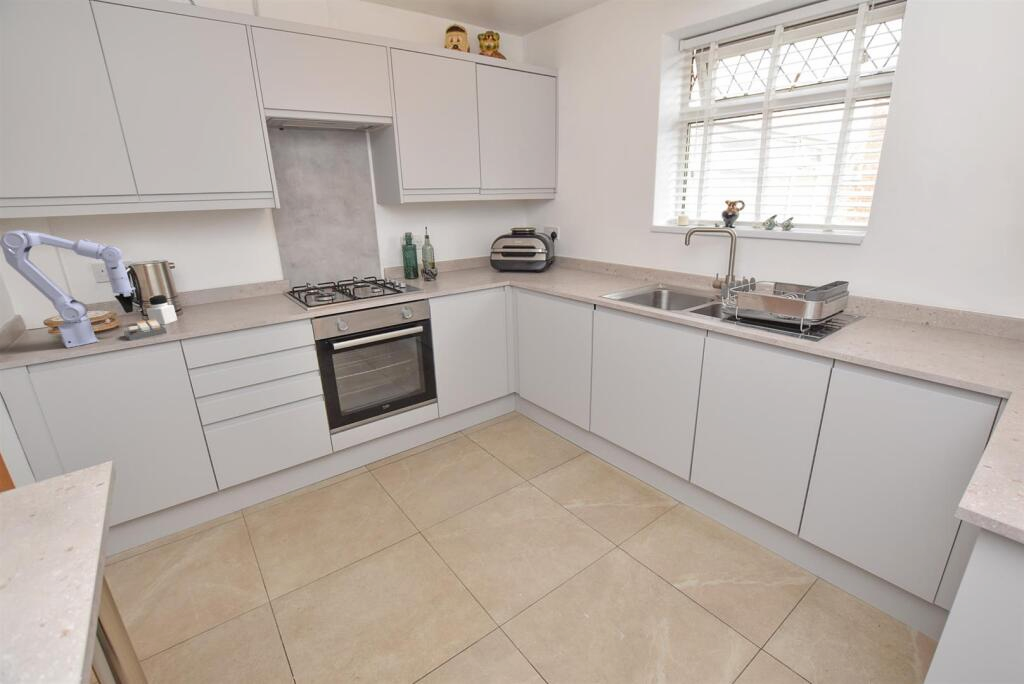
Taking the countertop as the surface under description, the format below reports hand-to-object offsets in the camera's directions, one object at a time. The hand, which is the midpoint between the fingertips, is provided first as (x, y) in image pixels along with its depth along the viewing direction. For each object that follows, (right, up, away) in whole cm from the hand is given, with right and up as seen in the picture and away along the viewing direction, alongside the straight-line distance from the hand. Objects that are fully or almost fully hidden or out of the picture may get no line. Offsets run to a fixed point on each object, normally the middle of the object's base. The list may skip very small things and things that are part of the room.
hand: (129, 312), depth 186 cm
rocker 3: (+6, -4, +4) cm, 9 cm away
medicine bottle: (-2, -3, +21) cm, 21 cm away
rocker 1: (+2, -6, 0) cm, 7 cm away
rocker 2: (+4, -5, +2) cm, 7 cm away
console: (+4, -9, +3) cm, 10 cm away
